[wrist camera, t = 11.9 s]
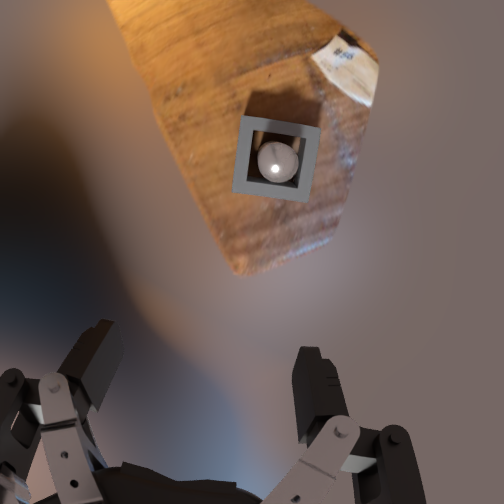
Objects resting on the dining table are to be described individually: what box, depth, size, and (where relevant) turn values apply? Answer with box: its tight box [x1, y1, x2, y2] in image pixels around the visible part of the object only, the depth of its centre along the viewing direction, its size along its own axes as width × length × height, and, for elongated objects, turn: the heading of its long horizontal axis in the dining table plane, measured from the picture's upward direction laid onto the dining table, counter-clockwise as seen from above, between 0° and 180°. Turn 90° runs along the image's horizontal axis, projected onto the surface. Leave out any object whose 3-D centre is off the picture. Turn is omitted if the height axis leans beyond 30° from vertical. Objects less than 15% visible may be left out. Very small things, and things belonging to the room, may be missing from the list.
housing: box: [232, 115, 321, 203], centre depth 32 cm, size 9×9×4 cm
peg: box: [257, 141, 299, 183], centre depth 30 cm, size 4×4×8 cm
